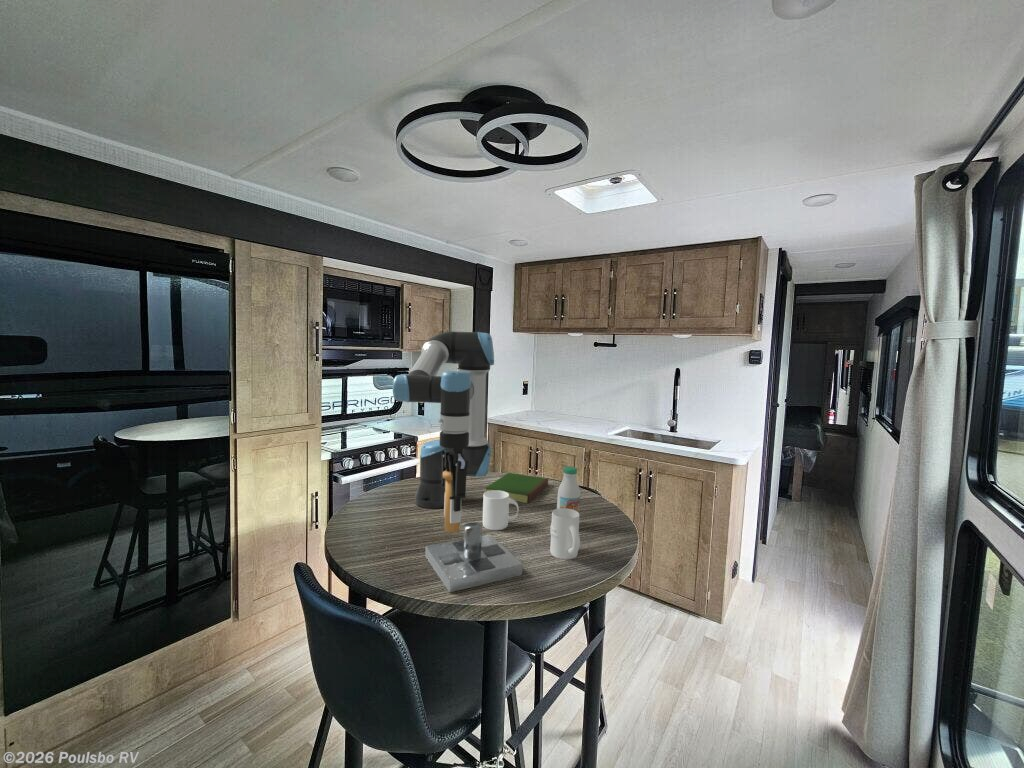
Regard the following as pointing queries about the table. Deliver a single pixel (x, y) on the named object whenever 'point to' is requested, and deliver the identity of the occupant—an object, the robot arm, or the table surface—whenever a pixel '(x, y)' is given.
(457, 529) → the tan wooden pestle
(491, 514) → the mug
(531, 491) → the hardcover book
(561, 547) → the mug
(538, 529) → the table surface
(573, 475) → the milk bottle
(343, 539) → the table surface
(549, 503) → the table surface
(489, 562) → the checkered knob plate
